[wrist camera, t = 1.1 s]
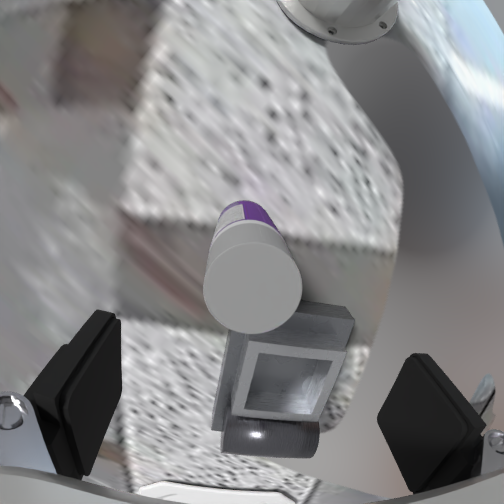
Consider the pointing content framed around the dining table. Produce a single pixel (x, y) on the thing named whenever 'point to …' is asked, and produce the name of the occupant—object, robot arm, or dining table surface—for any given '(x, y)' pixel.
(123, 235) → the dining table surface
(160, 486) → the plate
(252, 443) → the block
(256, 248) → the container
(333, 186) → the dining table surface
